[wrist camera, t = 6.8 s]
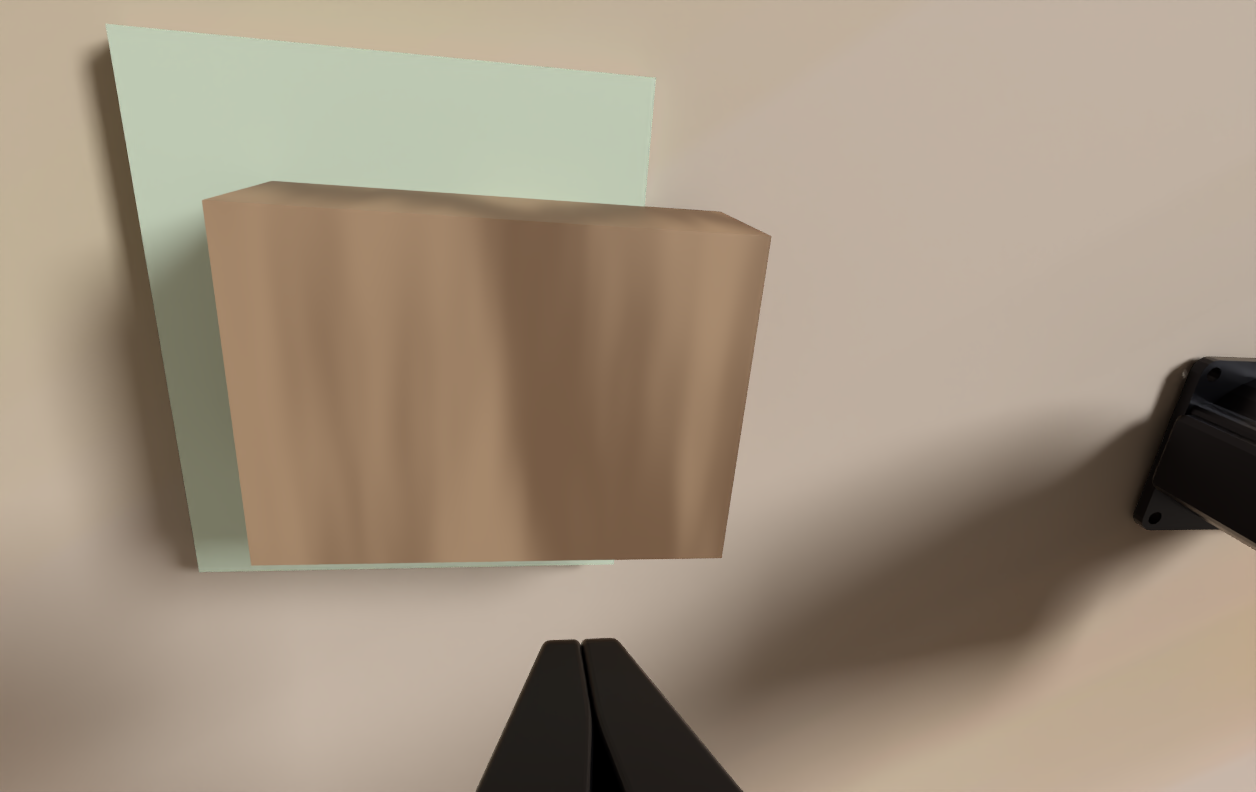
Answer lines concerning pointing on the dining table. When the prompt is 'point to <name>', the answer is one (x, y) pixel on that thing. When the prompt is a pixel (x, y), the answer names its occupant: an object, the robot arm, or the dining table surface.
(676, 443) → the walnut block
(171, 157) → the rubber pad
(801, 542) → the dining table surface
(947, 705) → the dining table surface
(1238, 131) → the dining table surface
